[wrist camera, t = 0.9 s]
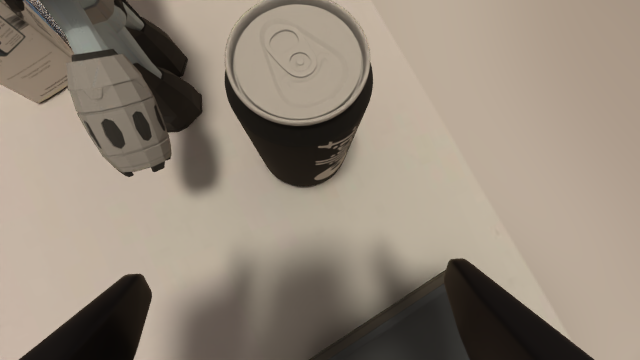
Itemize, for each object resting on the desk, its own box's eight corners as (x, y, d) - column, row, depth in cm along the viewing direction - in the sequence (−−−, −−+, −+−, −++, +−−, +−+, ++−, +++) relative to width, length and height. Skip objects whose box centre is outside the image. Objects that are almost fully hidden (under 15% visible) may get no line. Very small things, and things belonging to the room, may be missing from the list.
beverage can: (295, 205, 22) (278, 169, 10) (246, 139, 23) (180, 37, 11) (361, 155, 23) (415, 71, 11) (312, 94, 24) (315, -43, 12)
